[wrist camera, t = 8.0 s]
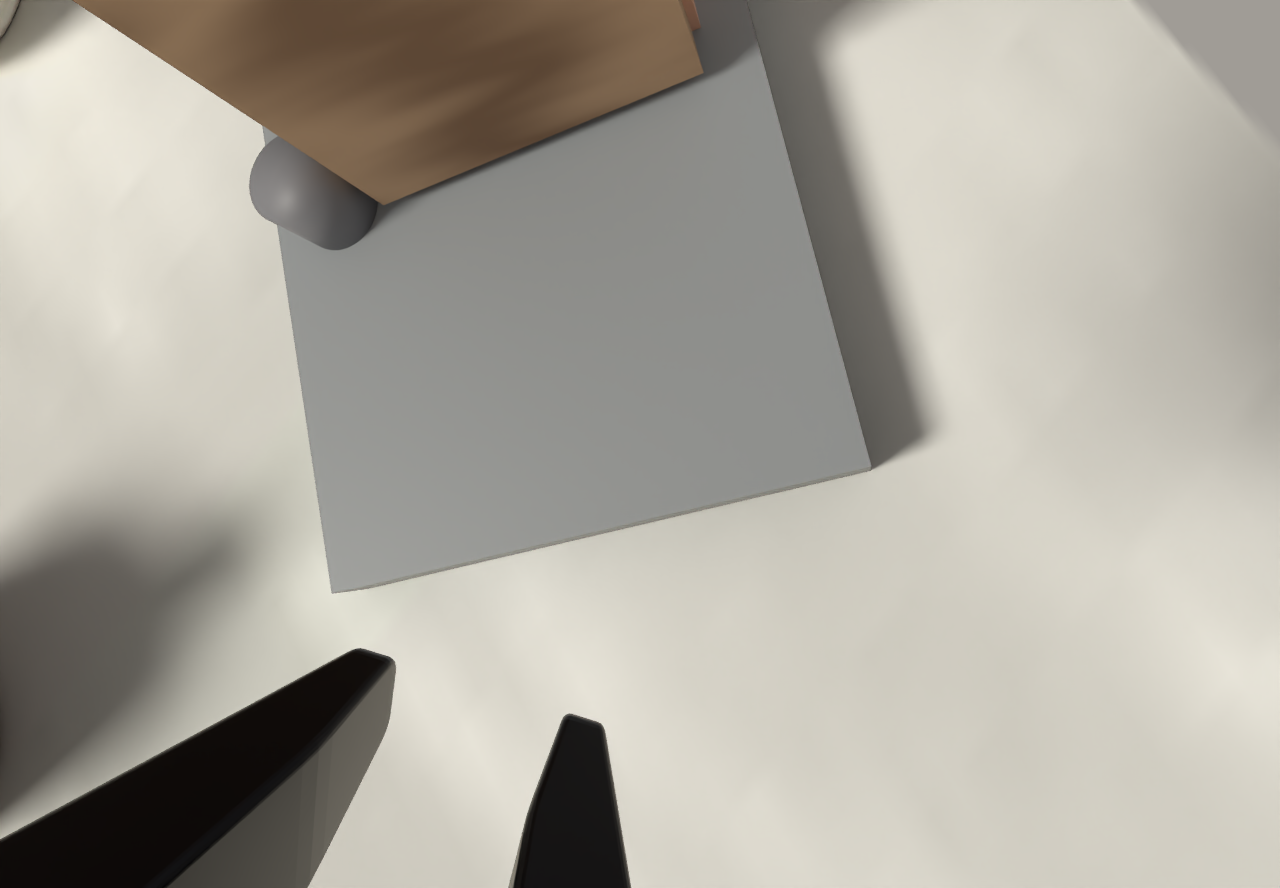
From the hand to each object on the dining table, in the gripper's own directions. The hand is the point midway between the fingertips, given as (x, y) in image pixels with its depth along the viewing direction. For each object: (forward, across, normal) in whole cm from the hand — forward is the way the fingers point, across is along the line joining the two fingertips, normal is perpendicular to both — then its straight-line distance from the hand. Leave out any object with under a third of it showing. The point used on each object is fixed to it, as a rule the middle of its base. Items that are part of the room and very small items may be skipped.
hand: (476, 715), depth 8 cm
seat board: (+15, +4, -1) cm, 16 cm away
